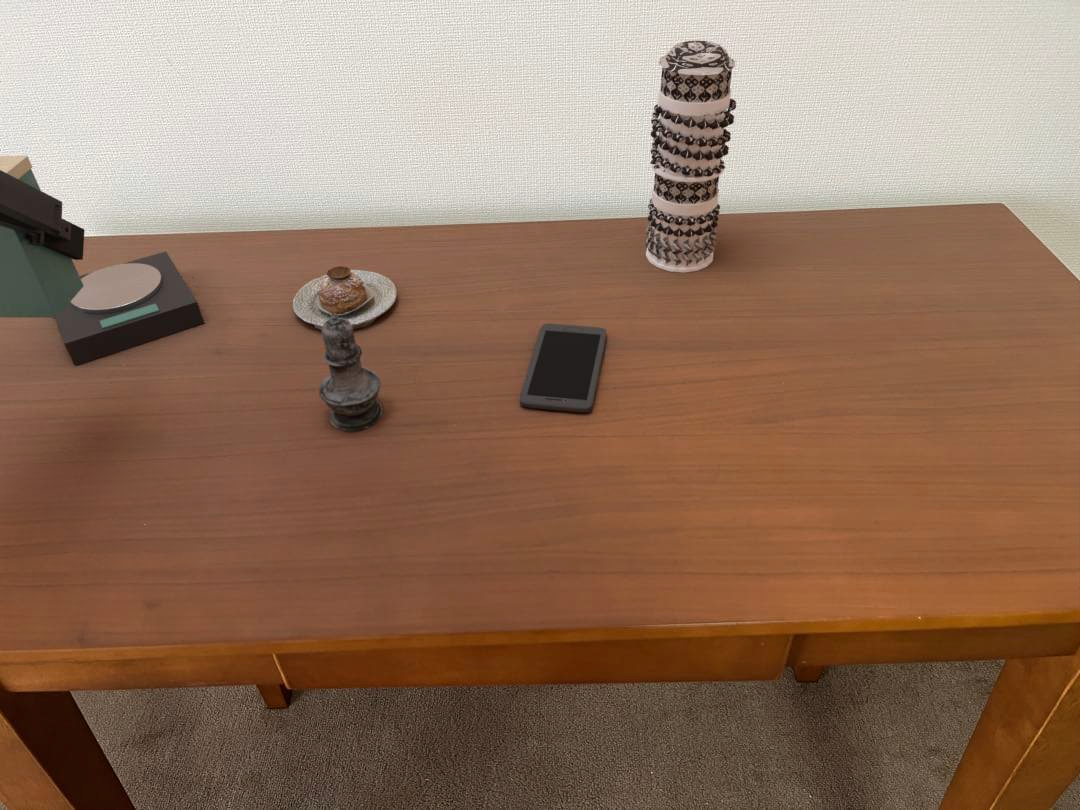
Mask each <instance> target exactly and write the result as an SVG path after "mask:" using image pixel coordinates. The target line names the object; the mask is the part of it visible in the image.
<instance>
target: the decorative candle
mask: <svg viewBox="0 0 1080 810" xmlns="http://www.w3.org/2000/svg"><path fill="white" fill-rule="evenodd" d="M658 65H660V66H661V77H660V86H659V89H658V97H657V98H658V100H657V104H656V105H654V107H653V110H654V111H653V112H652V114H651V115H652V118H651V120H650V123H651V125H652V126H651V129H652V130H651V131H650V137H652V138H653V139H652V143H651V147H652V148H651V149H650V154H651V160H650V163H649V164H650V165H651V169H652V170H653V172H654V181H653V182H654V184H653V185H652V191H651V198H650V200H649V203H648V206H647V208H648V210H649V212H648V214H649V215H648V216H647V221H648V223H649V224H648V225H647V228H646V231H645V233H646V236H647V238H646V240H645V246H646V252H645V257H646V259H647V261H648V262H649V263H650V264H651V265H652V266H654V267H655V268H657V269H661V270H664V271H667V272H671V273H683V274H684V273H692V272H698V271H701V270H703V269H705V268H707V267H709V266H710V265H711V263H712V262H713V261H714V252H715V251H716V247H715V246H716V242H715V241H716V240H717V236H716V235H717V234H718V231H717V229H715V228H717V227H718V226H719V225H718V222H719V216H718V215H720V209H721V205H720V204H719V203H718V202H719V201H718V200H719V191H720V189H719V181H720V176H721V175H722V174H723V173H725V169H726V166H725V161H724V160H723V159H722V158H723V157H725V156H727V155H728V154H729V150H730V147H729V146H728V145H727V144H726V143H728V142H730V141H731V138H732V137H731V135H732V134H731V132H730V131H729V130H728V129H727V128H728V127H729V126H731V125H733V124H734V123H735V116H734V114H733V113H731V112H732V111H734V110H736V108H737V101H736V100H735V99H734V98H731V95H732V89H731V81H732V73H733V69H734V68H735V67H736V60H735V59H733V58H732V57H731V56H729V54H728V51H727V49H726V48H725V47H723V46H722V45H721V44H718V43H716V42H713V41H708V40H686V41H683V42H679V43H676V44H675V45H674V46H672V47H671V48H669V51H668V52H667V54H665V55H664V56H662V57H660V58H659V62H658Z"/></svg>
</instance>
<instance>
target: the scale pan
mask: <svg viewBox="0 0 1080 810" xmlns="http://www.w3.org/2000/svg"><path fill="white" fill-rule="evenodd" d="M92 272H93V273H92ZM92 272H89V273H90V274H89V273H88V274H89V275H87V276H85V277H83V278H82V279H81V281H82V283H83V285H84V286H83V287H82V289H81V290H80V291H79V292H78V293H77V294H76V296H75V297H74V298H73V299H72V300H71V301H70V303H71V304H72V306H73V307H74V308H75V309H77V310H79V311H81V312H85V313H92V314H104V313H112V312H117V311H122V310H125V309H128V308H131V307H134V306H136V305H139V304H141V303H143V302H144V301H146V300H148V299H149V298H151V297H152V296H153V295H154V294H156V293H157V291H158V290H159V289H160V287H161V285H162V277H161V274H160V272H159V271H158V270H157V269H156V268H154V267H153V266H150V265H146V264H139V263H128V264H123V263H120V264H114V265H111V266H105V267H104V268H100V269H98V270H94V271H92Z"/></svg>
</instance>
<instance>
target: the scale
mask: <svg viewBox="0 0 1080 810" xmlns="http://www.w3.org/2000/svg"><path fill="white" fill-rule="evenodd" d="M128 263H139V264H146V265H150V266H153V267H154V268H156V269H157V270H158V271H159V272H160V274H161V277H162V285H161V287H160V289H159V290H158V291H157V293H156V294H154V295H153V296H152V297H151V298H149V299H148V300H146V301H144V302H143V303H141V304H139V305H136V306H134V307H131V308H128V309H125V310H122V311H117V312H112V313H104V314H92V313H85V312H81V311H79V310H77V309H75V308H74V307H73V306H72V304H71V303H69V304H68V305H67V306H66V307H65V308H64V310H63V311H62V312H61V313H60V314H59V315H58V316H57V317H54V319H55V322H56V325H57V327H58V330H59V333H60V336H61V340H62V342H63V345H64V346H65V348H66V351H67V352H68V355H69V356H70V359H71V360H72V363H73V364H74V366H75V367H76V366H79V365H82V364H85V363H88V362H91V361H95V360H98V359H100V358H103V357H106V356H109V355H112V354H115V353H118V352H121V351H124V350H127V349H131V348H133V347H137V346H139V345H143V344H145V343H149V342H151V341H154V340H157V339H161V338H163V337H167V336H170V335H172V334H176V333H179V332H182V331H186V330H189V329H191V328H195V327H197V326H200V325H203V324H205V319H204V317H203V315H202V312H201V309H200V306H199V302H198V300H197V299H196V298H195V296H194V294H193V293H192V291H191V289H190V287H189V286H188V284H187V283H186V281H185V280H184V278H183V276H182V274H181V273H180V271H179V270H178V268H177V266H176V265H175V263H174V261H173V260H172V258H171V257H170V255H169V254H168V252H167V250H166V251H161V252H157V253H154V254H151V255H148V256H145V257H140V258H138V259H134V260H131V261H130V260H129V261H126V262H123V263H122V264H128ZM93 272H94V271H92V272H89V273H85V274H81V275H79V277H80V279H82V278H83V277H85V276H87V275H89V274H90V273H93Z"/></svg>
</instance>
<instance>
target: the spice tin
mask: <svg viewBox="0 0 1080 810" xmlns="http://www.w3.org/2000/svg"><path fill="white" fill-rule="evenodd" d="M32 169H33V165H32V163H31V160H30V158H29V156H28V155H0V170H1V171H3V172H5V173H7V174H9V175H11V176H13V177H15V178H17V179H19V180H21V181H23V182H25V183H26V184H28V185H30V186H32V187H34V188H36V189H38V190H40V191H42V190H41V187H40V185H39V183H38V181H37V179H36V176H35V174H34V172H33V170H32ZM79 276H80V275H79V272H78V270H77V268H76V265H75V263H74V261H73V259H72V258H69V257H67V256H65V255H62V254H60V253H58V252H55V251H53V250H51V249H48V248H46V247H44V246H37V245H30V244H29V240H27V239H25V233H22V232H19V231H16V230H12V229H9V228H6V227H3V226H0V318H55V317H57V316H58V315H59V314H60V313H61V312H62V311H63V310H64V308H65V307H66V306H67V305H68V304H69V303H70V301H71V300H72V299H73V298H74V297H75V296H76V294H77V293H78V292H79V291H80V290H81V289H82V287H83V286H84V285H83V283H82V281H81V279H80V277H79Z"/></svg>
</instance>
